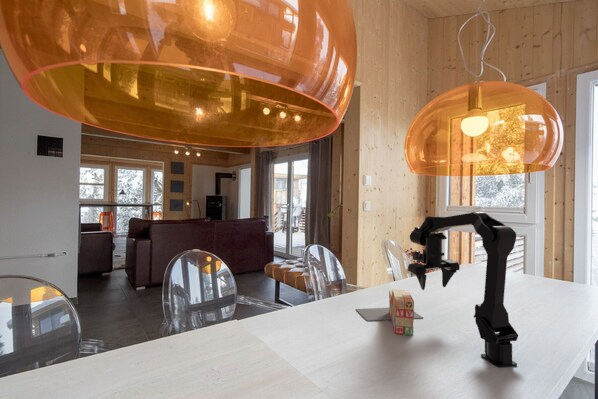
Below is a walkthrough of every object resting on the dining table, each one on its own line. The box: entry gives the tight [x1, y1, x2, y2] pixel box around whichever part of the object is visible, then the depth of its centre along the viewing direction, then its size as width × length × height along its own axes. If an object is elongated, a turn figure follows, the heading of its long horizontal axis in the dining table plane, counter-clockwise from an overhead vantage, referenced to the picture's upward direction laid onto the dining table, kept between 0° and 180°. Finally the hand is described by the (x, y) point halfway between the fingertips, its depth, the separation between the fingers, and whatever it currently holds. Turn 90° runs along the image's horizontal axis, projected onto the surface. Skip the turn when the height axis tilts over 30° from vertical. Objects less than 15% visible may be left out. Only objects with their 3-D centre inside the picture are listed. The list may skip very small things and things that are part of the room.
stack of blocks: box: [388, 288, 415, 337], centre depth 113 cm, size 21×6×12 cm, turn 168°
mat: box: [355, 307, 424, 322], centre depth 123 cm, size 13×24×1 cm, turn 99°
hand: (433, 288), depth 113 cm, fingers open, 9 cm apart
